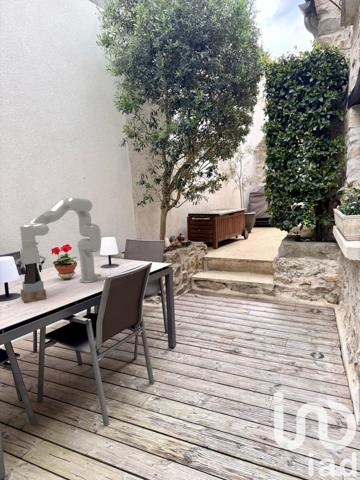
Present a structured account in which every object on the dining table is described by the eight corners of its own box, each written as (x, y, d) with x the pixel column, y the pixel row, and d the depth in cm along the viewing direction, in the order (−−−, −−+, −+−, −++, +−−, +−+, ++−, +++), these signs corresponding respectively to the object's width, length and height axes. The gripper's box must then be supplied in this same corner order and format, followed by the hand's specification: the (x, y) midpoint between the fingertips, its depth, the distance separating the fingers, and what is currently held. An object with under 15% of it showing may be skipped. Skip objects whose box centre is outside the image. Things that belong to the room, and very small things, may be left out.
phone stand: (31, 279, 188) (29, 261, 187) (41, 279, 188) (39, 261, 187) (23, 284, 180) (21, 264, 178) (33, 283, 179) (31, 264, 178)
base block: (42, 294, 193) (41, 285, 192) (46, 299, 184) (45, 290, 183) (21, 298, 186) (20, 289, 186) (24, 304, 177) (23, 294, 176)
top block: (40, 286, 191) (39, 278, 191) (43, 290, 183) (43, 282, 182) (23, 289, 185) (22, 281, 185) (25, 293, 177) (25, 285, 177)
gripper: (43, 242, 189) (45, 269, 191) (12, 246, 179) (15, 274, 181) (45, 244, 183) (48, 271, 185) (13, 247, 173) (16, 276, 175)
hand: (31, 272), depth 183 cm, fingers open, 9 cm apart
